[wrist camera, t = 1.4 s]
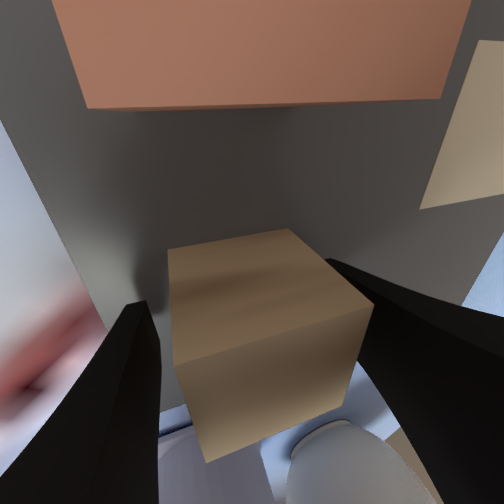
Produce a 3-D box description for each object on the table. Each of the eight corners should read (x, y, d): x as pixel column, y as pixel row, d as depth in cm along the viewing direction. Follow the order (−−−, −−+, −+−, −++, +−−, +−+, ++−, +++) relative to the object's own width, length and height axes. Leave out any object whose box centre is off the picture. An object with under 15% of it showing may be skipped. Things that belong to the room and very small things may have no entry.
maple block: (283, 311, 11) (342, 405, 8) (189, 338, 10) (206, 463, 7) (287, 228, 9) (374, 305, 5) (167, 249, 8) (173, 365, 4)
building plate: (446, 299, 19) (460, 308, 18) (151, 396, 13) (150, 416, 12) (627, -45, 9) (673, -61, 8) (-148, -246, 4) (-243, -357, 3)
